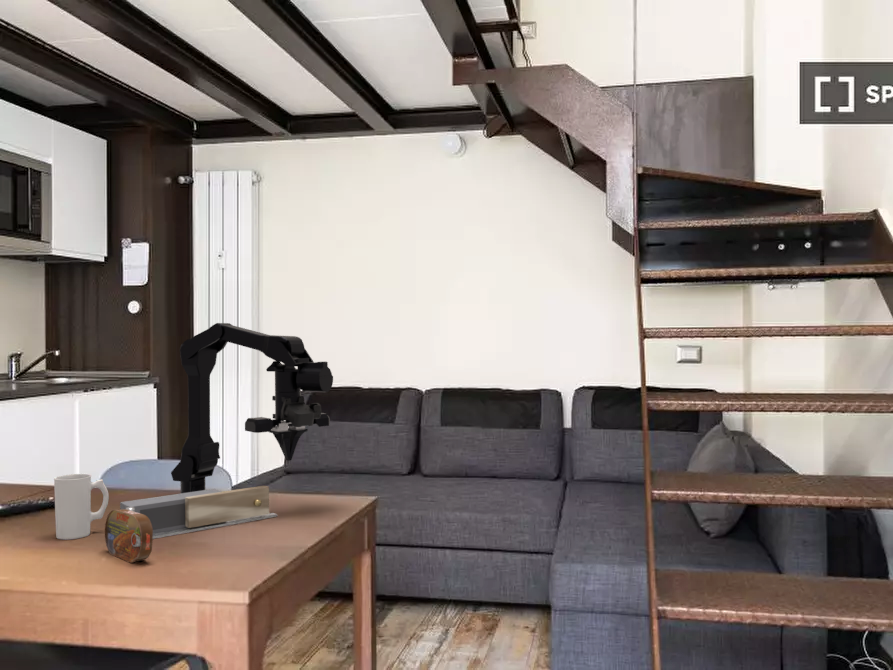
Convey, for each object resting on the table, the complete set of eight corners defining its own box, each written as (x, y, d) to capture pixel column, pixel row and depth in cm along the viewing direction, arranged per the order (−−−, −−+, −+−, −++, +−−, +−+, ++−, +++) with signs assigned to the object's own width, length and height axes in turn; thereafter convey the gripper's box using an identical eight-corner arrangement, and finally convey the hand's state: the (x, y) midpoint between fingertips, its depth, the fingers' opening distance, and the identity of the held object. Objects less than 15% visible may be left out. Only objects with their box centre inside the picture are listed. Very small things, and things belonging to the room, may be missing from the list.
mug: (55, 541, 149) (54, 481, 149) (54, 534, 155) (53, 475, 155) (110, 534, 154) (109, 476, 154) (107, 527, 160) (107, 471, 160)
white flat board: (125, 541, 149) (124, 507, 149) (273, 514, 170) (272, 485, 170) (128, 543, 148) (128, 509, 148) (277, 516, 168) (277, 486, 168)
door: (185, 526, 157) (185, 497, 157) (264, 512, 169) (264, 485, 169) (191, 528, 155) (190, 499, 155) (271, 514, 166) (270, 487, 166)
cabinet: (120, 534, 155) (120, 502, 155) (214, 517, 168) (214, 488, 168) (130, 539, 150) (130, 507, 150) (226, 523, 163) (225, 492, 163)
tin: (103, 551, 143) (102, 506, 143) (119, 548, 145) (119, 504, 145) (139, 567, 132) (138, 519, 132) (156, 563, 134) (155, 516, 134)
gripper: (266, 395, 159) (267, 469, 159) (342, 390, 171) (343, 459, 171) (243, 393, 168) (244, 463, 168) (316, 388, 180) (317, 454, 180)
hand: (288, 460), depth 171 cm, fingers closed
